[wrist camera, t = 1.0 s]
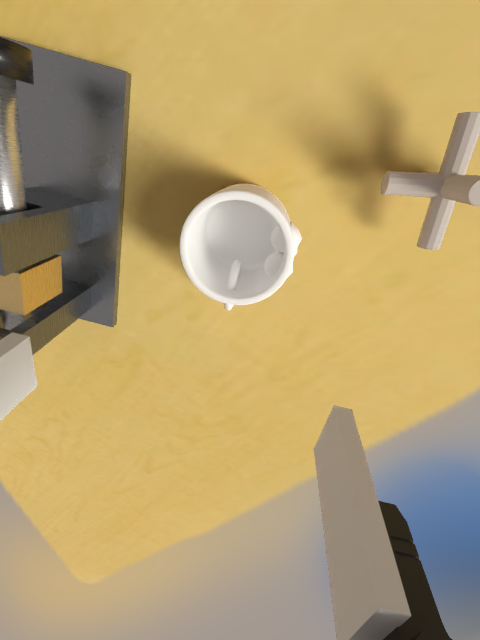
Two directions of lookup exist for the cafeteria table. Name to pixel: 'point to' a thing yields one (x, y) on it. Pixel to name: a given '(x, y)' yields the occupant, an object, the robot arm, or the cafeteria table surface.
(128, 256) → the cafeteria table surface
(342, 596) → the robot arm
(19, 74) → the shaft
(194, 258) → the mug
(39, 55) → the bearing block
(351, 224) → the cafeteria table surface
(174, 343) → the cafeteria table surface
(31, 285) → the spacer
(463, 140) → the pipe connector
